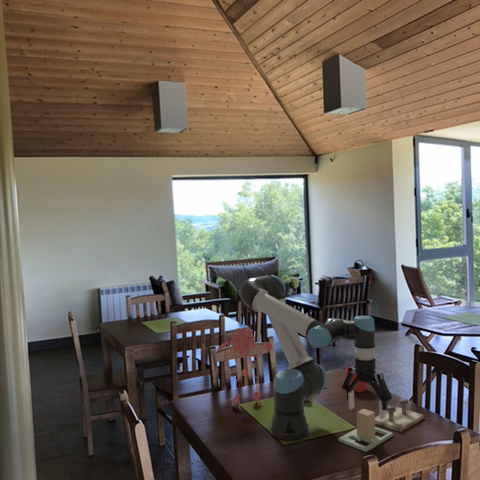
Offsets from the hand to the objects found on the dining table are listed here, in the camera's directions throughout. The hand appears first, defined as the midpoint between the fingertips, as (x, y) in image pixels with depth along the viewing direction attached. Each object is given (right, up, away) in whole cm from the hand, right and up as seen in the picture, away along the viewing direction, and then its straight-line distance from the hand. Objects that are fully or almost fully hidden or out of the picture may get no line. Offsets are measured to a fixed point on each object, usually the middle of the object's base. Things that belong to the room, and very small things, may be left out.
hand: (366, 413), depth 186 cm
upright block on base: (0, -10, +1) cm, 10 cm away
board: (+17, -9, +16) cm, 25 cm away
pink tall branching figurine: (-46, -9, +39) cm, 61 cm away
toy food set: (-19, -9, +52) cm, 56 cm away
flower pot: (+9, -7, +53) cm, 54 cm away
